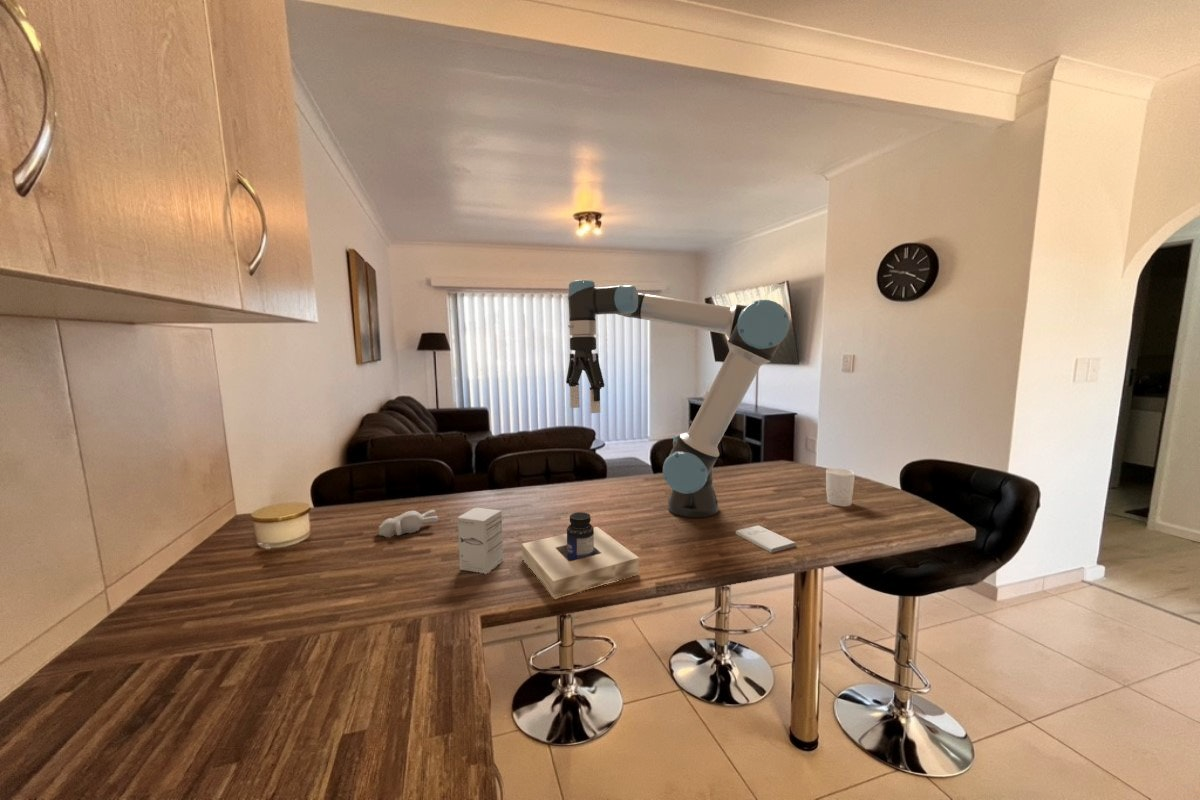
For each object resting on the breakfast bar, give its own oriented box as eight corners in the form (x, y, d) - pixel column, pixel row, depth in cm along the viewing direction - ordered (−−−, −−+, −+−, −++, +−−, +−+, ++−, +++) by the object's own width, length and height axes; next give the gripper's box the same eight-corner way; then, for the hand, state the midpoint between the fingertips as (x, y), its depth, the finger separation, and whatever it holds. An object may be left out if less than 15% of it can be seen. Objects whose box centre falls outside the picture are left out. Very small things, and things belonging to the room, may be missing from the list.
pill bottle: (564, 558, 105) (563, 512, 104) (589, 554, 107) (589, 509, 106) (570, 570, 99) (570, 522, 98) (597, 566, 101) (597, 518, 100)
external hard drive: (770, 555, 108) (735, 535, 120) (796, 548, 112) (759, 530, 123) (771, 548, 108) (735, 530, 119) (796, 542, 111) (759, 524, 123)
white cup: (829, 506, 138) (830, 474, 137) (821, 498, 145) (822, 468, 144) (857, 507, 136) (859, 475, 135) (847, 499, 144) (849, 468, 143)
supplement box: (459, 570, 103) (455, 517, 101) (478, 556, 110) (475, 506, 108) (486, 575, 100) (483, 520, 99) (504, 560, 107) (502, 509, 106)
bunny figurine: (377, 517, 127) (432, 501, 133) (381, 534, 128) (436, 518, 134) (377, 528, 118) (437, 511, 125) (381, 546, 119) (440, 529, 126)
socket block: (597, 541, 117) (596, 526, 116) (639, 575, 99) (638, 557, 99) (522, 559, 107) (521, 543, 107) (553, 600, 90) (553, 581, 89)
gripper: (554, 337, 138) (556, 406, 141) (590, 334, 116) (592, 416, 119) (576, 337, 142) (578, 404, 144) (616, 334, 120) (617, 414, 122)
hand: (584, 410), depth 131 cm, fingers open, 13 cm apart
